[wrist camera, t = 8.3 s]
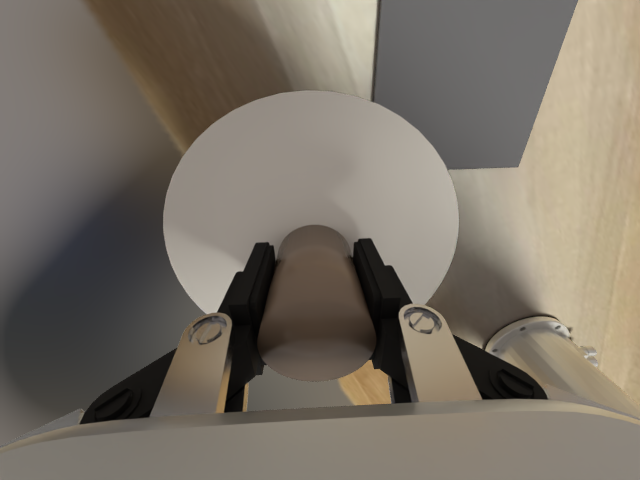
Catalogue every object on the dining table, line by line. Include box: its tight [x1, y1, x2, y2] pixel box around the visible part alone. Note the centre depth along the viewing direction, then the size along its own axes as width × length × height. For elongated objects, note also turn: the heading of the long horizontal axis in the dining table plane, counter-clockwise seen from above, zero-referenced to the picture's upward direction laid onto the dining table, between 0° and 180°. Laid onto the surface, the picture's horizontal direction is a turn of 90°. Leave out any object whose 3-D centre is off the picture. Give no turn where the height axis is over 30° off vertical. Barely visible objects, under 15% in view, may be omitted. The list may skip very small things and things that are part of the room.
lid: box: [163, 90, 459, 382], centre depth 10 cm, size 14×14×6 cm
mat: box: [373, 0, 578, 170], centre depth 21 cm, size 16×16×1 cm
